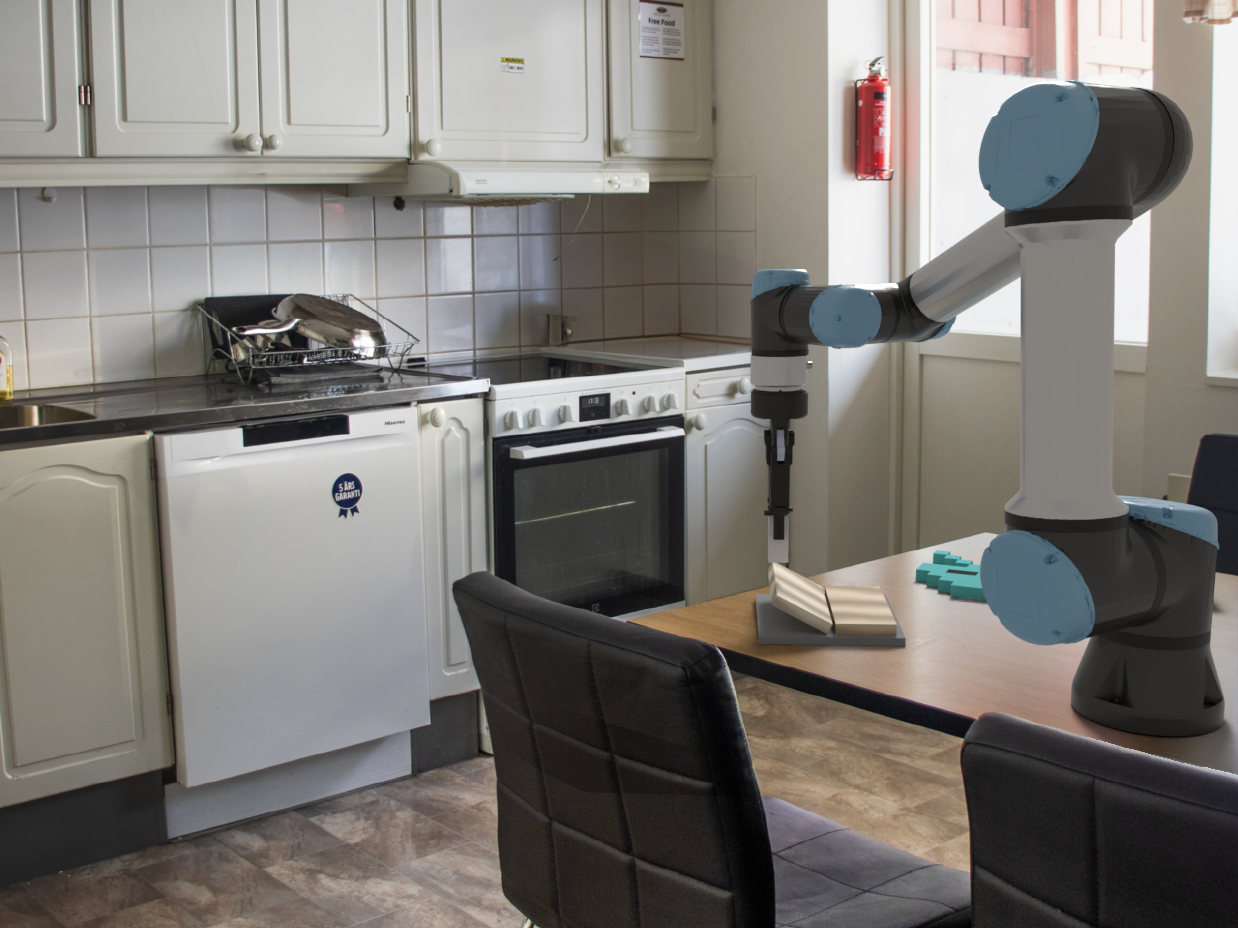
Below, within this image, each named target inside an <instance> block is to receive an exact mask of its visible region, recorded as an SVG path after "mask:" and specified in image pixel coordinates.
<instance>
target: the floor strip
mask: <svg viewBox="0 0 1238 928" xmlns="http://www.w3.org/2000/svg"><path fill="white" fill-rule="evenodd" d="M824 594H825V599H826V602H827V606H828V609H829V613H830V617H831V620H832V624H833V628H834V631H835V635H876V636H897V624H896V622H895V619H894V617H893V615H892V613H891V611H890V608H889V606H888V604H887V602H886V600H885V597H884V595H885V594H884V593H883V591H882V589H881V587H880V586H867V585H866V586H865V585H863V586H859V585H857V586H852V585H851V586H849V585H846V586H844V585H838V586H837V585H824Z"/></svg>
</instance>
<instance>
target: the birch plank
mask: <svg viewBox="0 0 1238 928" xmlns="http://www.w3.org/2000/svg"><path fill="white" fill-rule="evenodd" d="M767 576H768V578H767V579H768V587H769V594H770V595H771V604H772V606H774V607H776V608H778V609H780V610H782V611H784V612H786V613H787V614H789V615H791V616H793V617H795V618H797V619H799V620H801V621H803V622H805V623H807V624H809V625H810V626H812V627H814V628H816V629H818V630H820V631H822V632H824V633H826V634H827V633H828V631H829V630H830V628H831V626H832V625H833V624H832V620H831V617H830V613H829V609H828V606H827V602H826V599H825V595H824V594H825V591H824V588H823V586H822V585H820V584H818V583H817V582H815V581H812V580H811V579H808V578H806V577H805V576H803V575H801V574H799V573H797V572H796V571H793V570H791V569H790V568H787V567H786V566H784V565H782V564H780V563H770V564H769V566H768V568H767Z"/></svg>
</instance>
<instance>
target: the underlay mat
mask: <svg viewBox="0 0 1238 928" xmlns="http://www.w3.org/2000/svg"><path fill="white" fill-rule="evenodd" d="M824 595H825V593H824ZM883 595H884V597H885V600H886V602H887V604H888V606H889V608H890V611H891V613H892V615H893V617H894V619H895V622H896V624H897V636H876V635H835V631H834V628H833V625H832V626H831V628H830V630H829V631H828V633H827V634H826V633H824V632H822V631H820V630H818V629H816V628H814V627H812V626H810V625H809V624H807V623H805V622H803V621H801V620H799V619H797V618H795V617H793V616H791V615H789V614H787V613H786V612H784V611H782V610H780V609H778V608H776V607H774V606H772V604H771V595H770V593H755V611H756V622H757V623H756V624H757V637H758V638H757V639H758V645H813V646H814V645H815V646H816V645H817V646H818V645H819V646H820V645H821V646H822V645H823V646H879V647H880V646H884V647H886V646H890V647H893V646H894V647H895V646H897V647H905V646H906V640H907V639H906V636H905V634H904V632H903V630H902V628H901V625H900V623H899V621H898V618H897V617H896V614H895V613H894V612H895V611H894V609H893V608H892V606H891V604H890V601H889V600H888V597H887V595H886V594H883Z"/></svg>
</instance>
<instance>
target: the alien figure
mask: <svg viewBox="0 0 1238 928" xmlns="http://www.w3.org/2000/svg"><path fill="white" fill-rule="evenodd" d="M932 560H933V561H932V563H929V562H922V563H921V564H920V565H919V566H917V568H916V569H915V581H916V582H925V583H926V586H927V587H935V588H937V589H938V592H942V593H949V594H950V595H949V597H950V598H957V599H958V598H959V599H966V600H974V601H975V600H977V601H983V602H984V601H985V602H987V601H986V599H985V596H984V593H983V590H982V586H981V581H980V564H974V563H973V562H974V561H973V560H969V559H962V556H961V555H955V554H954V555H953V554H951V551H947V550H935V551H934V552H933V554H932Z"/></svg>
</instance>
